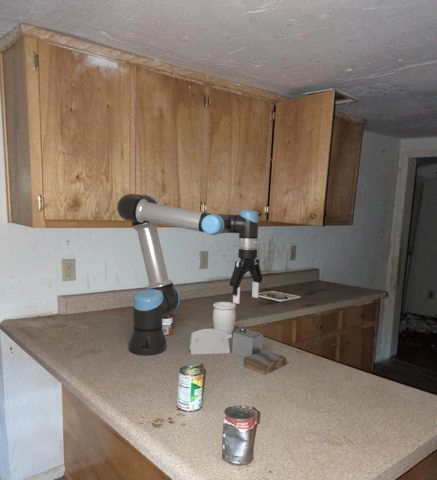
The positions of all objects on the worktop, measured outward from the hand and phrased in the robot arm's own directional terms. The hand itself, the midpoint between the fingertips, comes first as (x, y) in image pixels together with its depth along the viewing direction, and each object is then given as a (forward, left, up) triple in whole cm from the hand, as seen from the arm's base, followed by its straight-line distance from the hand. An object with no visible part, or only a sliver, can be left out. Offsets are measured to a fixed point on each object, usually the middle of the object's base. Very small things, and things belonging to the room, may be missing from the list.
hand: (246, 300), depth 156 cm
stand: (-5, -15, -21) cm, 26 cm away
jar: (+7, +18, -22) cm, 29 cm away
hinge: (-10, +10, -22) cm, 26 cm away
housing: (-2, -4, -22) cm, 22 cm away
